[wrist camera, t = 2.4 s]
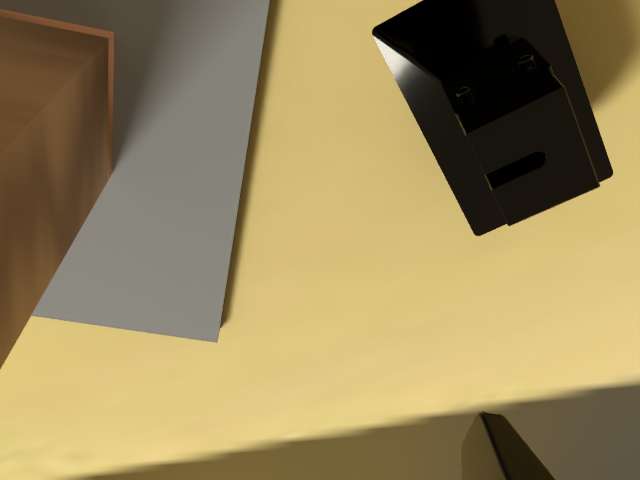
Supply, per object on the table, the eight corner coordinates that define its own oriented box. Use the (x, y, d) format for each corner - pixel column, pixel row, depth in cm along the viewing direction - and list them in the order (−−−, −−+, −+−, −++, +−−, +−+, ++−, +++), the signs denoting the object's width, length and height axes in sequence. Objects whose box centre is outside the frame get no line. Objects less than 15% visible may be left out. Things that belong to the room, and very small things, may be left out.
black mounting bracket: (322, -8, 19) (323, 35, 15) (546, -143, 17) (610, -131, 13) (468, 263, 25) (494, 340, 22) (646, 188, 23) (708, 259, 20)
